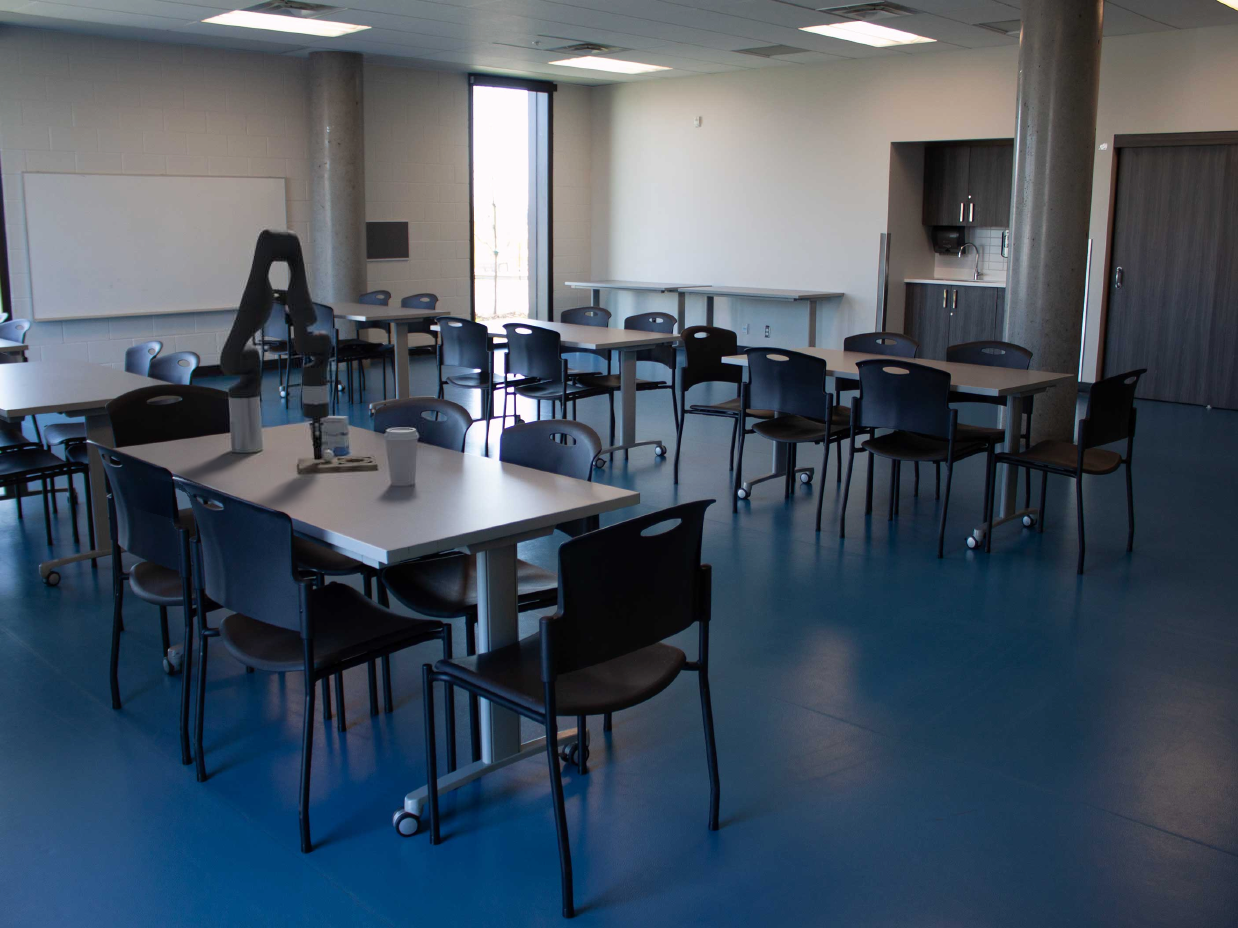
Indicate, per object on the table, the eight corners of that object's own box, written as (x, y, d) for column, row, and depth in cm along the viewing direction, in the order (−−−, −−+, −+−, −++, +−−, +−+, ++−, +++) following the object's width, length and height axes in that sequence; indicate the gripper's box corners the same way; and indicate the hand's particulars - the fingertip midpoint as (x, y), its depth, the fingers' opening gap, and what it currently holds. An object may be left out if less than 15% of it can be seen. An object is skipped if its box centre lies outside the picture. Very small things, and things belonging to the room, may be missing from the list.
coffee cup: (427, 481, 301) (425, 428, 298) (409, 488, 292) (407, 433, 289) (396, 478, 304) (394, 426, 301) (378, 485, 295) (376, 431, 292)
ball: (320, 460, 317) (324, 449, 317) (319, 458, 320) (323, 447, 320) (332, 464, 318) (335, 453, 318) (331, 462, 321) (335, 451, 321)
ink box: (350, 452, 341) (348, 415, 339) (344, 455, 337) (343, 418, 334) (323, 452, 342) (322, 415, 340) (318, 454, 338) (316, 417, 335)
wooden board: (299, 473, 310) (298, 468, 310) (298, 463, 324) (298, 458, 324) (377, 469, 316) (377, 464, 316) (373, 459, 330) (373, 454, 330)
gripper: (301, 397, 320) (304, 455, 323) (302, 404, 307) (304, 464, 311) (328, 397, 322) (330, 454, 325) (329, 403, 309) (332, 463, 313)
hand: (317, 459), depth 318 cm, fingers closed
